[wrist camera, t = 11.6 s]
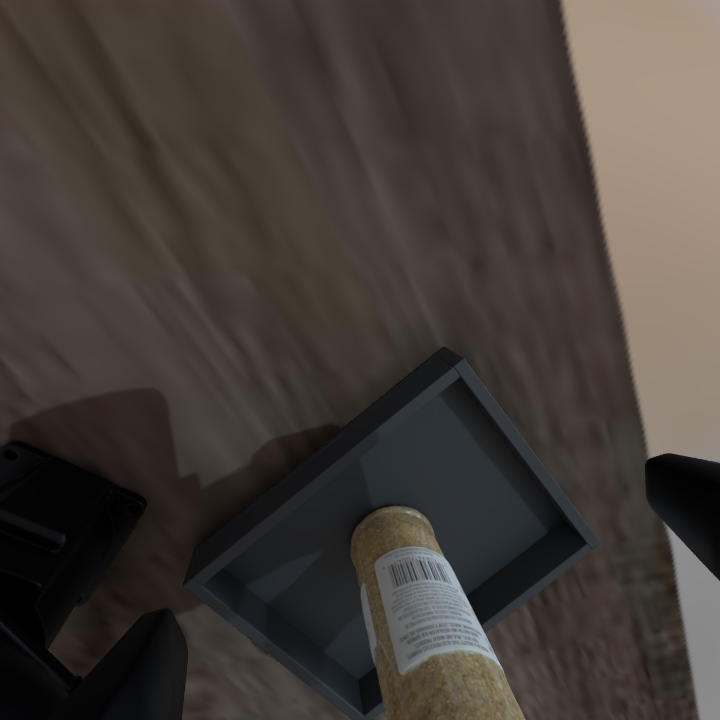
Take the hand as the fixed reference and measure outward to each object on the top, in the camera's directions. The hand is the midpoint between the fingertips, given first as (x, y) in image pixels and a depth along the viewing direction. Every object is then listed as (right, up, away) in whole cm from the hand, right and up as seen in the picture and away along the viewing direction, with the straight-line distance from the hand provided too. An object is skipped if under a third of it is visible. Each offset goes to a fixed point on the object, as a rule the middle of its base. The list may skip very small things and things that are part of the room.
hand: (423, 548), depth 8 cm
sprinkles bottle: (0, -6, +15) cm, 16 cm away
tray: (+1, -6, +15) cm, 16 cm away
